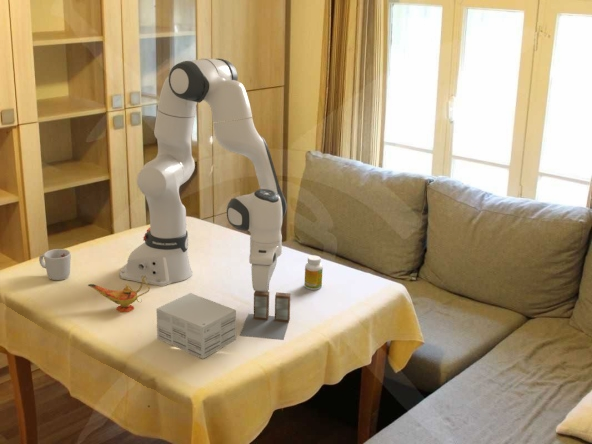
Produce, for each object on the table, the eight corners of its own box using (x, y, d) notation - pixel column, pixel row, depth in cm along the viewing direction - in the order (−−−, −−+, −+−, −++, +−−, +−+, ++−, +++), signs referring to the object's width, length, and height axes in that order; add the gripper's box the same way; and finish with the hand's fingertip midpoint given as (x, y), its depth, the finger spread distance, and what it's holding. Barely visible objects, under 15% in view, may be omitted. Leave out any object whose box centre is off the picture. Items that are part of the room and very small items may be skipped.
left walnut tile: (253, 319, 211) (253, 293, 209) (254, 316, 213) (255, 290, 211) (267, 320, 211) (268, 294, 208) (268, 317, 213) (269, 291, 210)
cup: (32, 277, 233) (30, 254, 230) (49, 268, 240) (47, 245, 237) (61, 284, 229) (59, 260, 227) (77, 274, 236) (76, 251, 234)
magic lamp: (93, 300, 220) (90, 266, 216) (153, 305, 218) (152, 270, 215) (85, 311, 213) (82, 275, 210) (147, 315, 212) (145, 280, 208)
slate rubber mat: (239, 336, 202) (239, 335, 202) (248, 315, 215) (248, 313, 214) (283, 341, 201) (283, 339, 201) (290, 318, 213) (290, 317, 213)
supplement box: (237, 341, 201) (237, 309, 198) (203, 360, 191) (202, 327, 188) (191, 321, 210) (190, 291, 207) (156, 339, 200) (155, 307, 197)
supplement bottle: (320, 291, 231) (321, 262, 228) (302, 289, 232) (304, 260, 229) (322, 284, 236) (324, 255, 233) (306, 282, 237) (307, 253, 234)
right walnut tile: (274, 321, 211) (275, 295, 208) (275, 317, 213) (276, 292, 210) (288, 322, 210) (289, 296, 207) (289, 319, 212) (290, 293, 209)
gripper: (261, 233, 220) (260, 276, 225) (248, 260, 201) (247, 307, 206) (282, 235, 219) (281, 278, 224) (271, 262, 200) (270, 309, 205)
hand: (264, 292), depth 215 cm, fingers closed
